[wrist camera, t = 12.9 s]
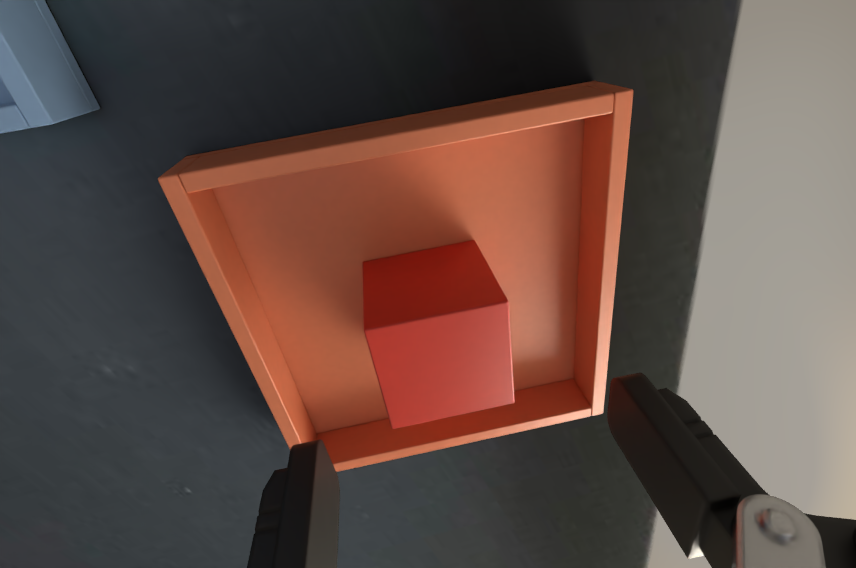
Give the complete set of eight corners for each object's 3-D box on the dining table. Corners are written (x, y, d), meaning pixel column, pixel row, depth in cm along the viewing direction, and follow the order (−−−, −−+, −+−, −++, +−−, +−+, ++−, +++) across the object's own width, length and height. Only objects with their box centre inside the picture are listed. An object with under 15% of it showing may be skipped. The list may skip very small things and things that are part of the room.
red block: (474, 238, 17) (509, 300, 13) (484, 329, 19) (515, 403, 15) (361, 261, 17) (363, 330, 13) (384, 349, 19) (391, 430, 15)
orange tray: (595, 80, 15) (634, 88, 13) (580, 377, 22) (603, 414, 20) (185, 156, 14) (155, 178, 12) (309, 435, 22) (304, 479, 20)
